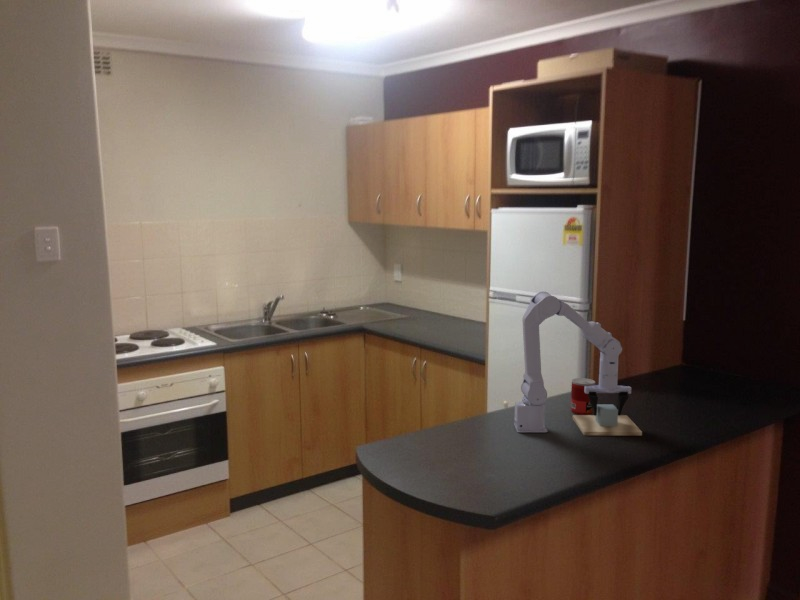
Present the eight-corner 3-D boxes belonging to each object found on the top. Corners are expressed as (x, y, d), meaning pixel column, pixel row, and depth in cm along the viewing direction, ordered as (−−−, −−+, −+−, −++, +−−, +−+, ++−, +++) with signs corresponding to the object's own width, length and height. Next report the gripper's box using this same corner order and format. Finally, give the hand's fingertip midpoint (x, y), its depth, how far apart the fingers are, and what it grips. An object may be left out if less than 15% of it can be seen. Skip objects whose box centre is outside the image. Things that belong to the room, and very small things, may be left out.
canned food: (590, 416, 239) (591, 385, 238) (567, 412, 244) (568, 381, 242) (597, 410, 246) (598, 379, 244) (574, 407, 250) (575, 376, 248)
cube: (600, 426, 227) (600, 409, 226) (595, 420, 232) (596, 404, 231) (617, 426, 227) (618, 409, 226) (612, 420, 232) (613, 404, 231)
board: (584, 435, 222) (584, 431, 222) (572, 418, 238) (572, 415, 238) (641, 435, 222) (642, 431, 222) (626, 418, 238) (626, 415, 237)
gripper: (588, 377, 223) (587, 418, 225) (635, 377, 223) (632, 418, 225) (583, 371, 230) (581, 411, 232) (628, 371, 230) (626, 411, 232)
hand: (606, 414), depth 229 cm, fingers open, 7 cm apart
